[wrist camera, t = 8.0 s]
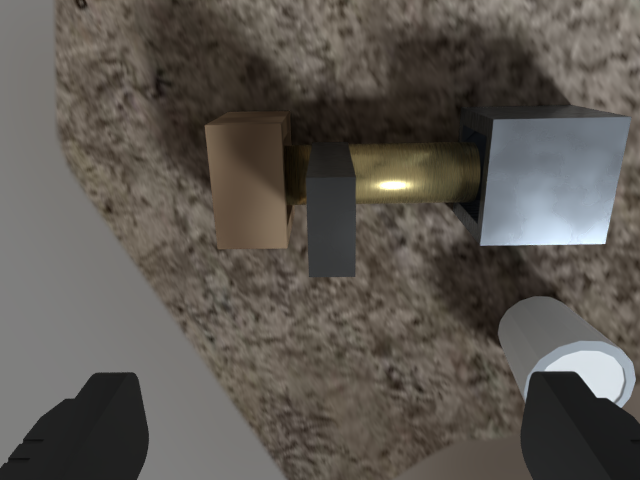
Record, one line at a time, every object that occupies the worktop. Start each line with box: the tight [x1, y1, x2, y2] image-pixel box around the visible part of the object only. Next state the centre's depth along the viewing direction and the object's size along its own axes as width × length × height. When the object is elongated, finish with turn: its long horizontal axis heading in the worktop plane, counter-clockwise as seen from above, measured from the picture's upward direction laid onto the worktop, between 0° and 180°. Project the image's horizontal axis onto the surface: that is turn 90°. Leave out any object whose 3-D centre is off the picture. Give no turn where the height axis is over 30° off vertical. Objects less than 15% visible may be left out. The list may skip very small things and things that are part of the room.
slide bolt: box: [283, 142, 480, 277], centre depth 25 cm, size 13×4×12 cm, turn 91°
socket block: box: [205, 111, 295, 249], centre depth 29 cm, size 4×7×6 cm, turn 1°
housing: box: [453, 105, 631, 246], centre depth 29 cm, size 7×7×6 cm
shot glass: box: [498, 296, 636, 408], centre depth 33 cm, size 7×7×7 cm
